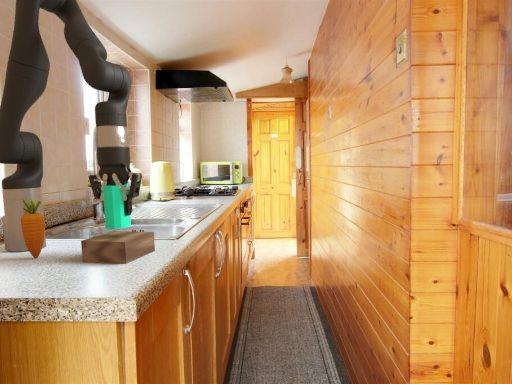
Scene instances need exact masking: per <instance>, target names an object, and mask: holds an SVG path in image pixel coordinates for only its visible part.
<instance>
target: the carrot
mask: <svg viewBox="0 0 512 384" xmlns="http://www.w3.org/2000/svg"><path fill="white" fill-rule="evenodd" d="M23 203H24V204H25V205H26V206H27V208H28V209H27V208H25V207H23V209H24V210H25V211H27V212H28V214H25V215H23V216H22V217H21V226H22V233H23V237H24V241H25V244H26V247H27V248H28V250H27V251H28V252H29V253H30V255H31V256H32V257H33V258H34V259H37V258H38V257H39V256H40V255H41V252H42V249H43V248H44V247H43V243H44V236H45V237H46V228H45V227H46V226H45V225H46V223H45V215H44V216H43V215H42V214H40V213H36V211H37V209H38V207H39V205H40V203H41V201H38V202H37V203H36V205H35V202H34V201H31V204H32V205H31V204H30V203H29V202H28V201H27V199H24V200H23Z"/></svg>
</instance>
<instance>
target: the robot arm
mask: <svg viewBox="0 0 512 384" xmlns="http://www.w3.org/2000/svg"><path fill="white" fill-rule="evenodd" d="M40 9H41V10H44V11H46V12H47V13H51V14H53V15H55V16H56V17H57V18H59V20H60V21H61V22H63V24H64V28H63V34H64V39H65V42H66V43H67V45H68V47H69V49H70V50H71V52H72V53H73V54H74V56H75V57H76V59H77V60H78V64H79V67H80V70H81V74H82V77H83V79H84V81H85V83H86V85H88V86H89V87H90V88H92V89H93V90H97V91H100V92H105V93H108V96H107V100H104V101H100V102H97V103H95V106H94V117H95V118H94V119H95V120H94V121H95V148H96V149H95V150H96V161H97V162H96V164H97V166H98V167H99V170H98V173H95V174H89V175H88V180H89V183H90V186H91V187H90V188H91V191H92V194H93V197H94V199H99V200H100V201H101V205H102V213H103V215H104V216H105V213H104V199H103V185H106V186H120V190H121V191H122V192H123V200H124V214H125V216H128V215H130V216H131V215H132V213H133V200H134V199H135V198H138V197H139V196H140V191H141V184H142V180H143V173H141V172H133V171H132V170H131V167H130V165H131V150H130V149H131V148H130V137H129V130H128V123H127V121H128V120H127V110H128V109H127V107H128V103H129V98H130V95H131V94H130V93H131V89H132V78H131V75H130V73H129V70H128V69H127V68H126V67H125V66H123V65H121V64H118V63H114V62H111V61H109V60H107V58H108V52H107V50H106V47H105V46H104V44H103V43H102V42H101V40H100V39H99V37H98V35H96V33H95V32H94V31H93V29H92V28H91V26H90V24H89V23H88V22H87V20H86V18H85V15H84V14H83V11H82V10H81V7H80V6H79V3H78V1H77V0H15V10H14V11H15V12H14V22H13V23H14V24H13V32H12V38H11V44H10V50H9V54H8V57H7V59H8V60H7V66H6V72H5V79H4V85H3V90H2V97H1V102H0V164H3V165H16V170H15V171H14V172H13V173H12V174H11V175H8V176H6V177H4V178H3V179H1V192H2V200H3V201H2V202H3V211H4V215H3V216H2V228H3V239H4V250H7V251H8V252H25V251H29V250H28V248H27V247H26V244H25V241H24V237H23V233H22V226H21V217H22V216H23V215H25V214H28V212H27V211H25V210H24V209H23V207H25V208H27V206H26V205H25V204H24V203H23V200H24V199H27V201H28V202H29V203H30V204H31V201H34V202H35V205H36V203H37V202H38V201H41V203H40V205H39V207H38V209H37V211H36V213H40V214H42V215H43V216H44V217H45V215H44V214H45V213H44V203H43V192H42V191H43V190H42V180H43V178H44V158H43V157H44V153H43V145H42V141H41V139H40V138H39V136H38V135H37V134H36V133H34V132H31V131H22V130H21V127H22V124H23V120H24V117H25V116H26V115H27V112H28V111H29V110H30V108H31V107H32V106H33V105H34V104H35V103H36V102H37V101H38V100H40V98H41V96H42V95H43V94H44V92H45V91H46V88H47V85H48V84H47V83H48V79H49V74H50V68H51V63H50V57H49V55H48V52H47V49H46V47H45V44H44V41H43V39H42V35H41V32H40V27H39V25H40V23H39V19H40V17H39V15H40ZM129 181H130V182H129ZM127 183H128V187H126V188H124V187H123V186H122V185H125V184H127ZM126 190H128V194H126ZM31 205H32V204H31ZM27 209H28V208H27ZM46 246H47V240H46V235H45V236H44V243H43V247H42V248H44V247H46Z"/></svg>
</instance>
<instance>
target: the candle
mask: <svg viewBox="0 0 512 384" xmlns="http://www.w3.org/2000/svg"><path fill="white" fill-rule="evenodd" d="M122 186H123V187H124V188H126V187H128V183H127V184H125V185H122ZM126 194H128V190H126ZM103 199H104V213H105V215H104V225H105V229H107V230H115V229H116V230H117V229H118V230H120V229H125V228H129V227H132V224H131V223H132V222H131V219H132V218H131V215H128V216H125V214H124V200H123V192H122V191H121V190H120V186H106V185H103ZM104 213H103V214H104Z"/></svg>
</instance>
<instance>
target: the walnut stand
mask: <svg viewBox="0 0 512 384" xmlns="http://www.w3.org/2000/svg"><path fill="white" fill-rule="evenodd" d="M80 245H81V258H82V260H81V261H82V262H84V263H87V262H88V263H102V264H103V263H106V264H107V263H108V264H129V263H130V262H133V261H135V260H137V259H140V258H142V257H144V256H147V255H149V254H151V253H153V252H156V249H155V248H156V246H155V232H154V231H134V230H133V231H130V230H129V231H127V230H126V231H123V230H113V231H111V232H107V233H103V234H100V235H96V236H93V237H89V238H86V239H82V240H80Z"/></svg>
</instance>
